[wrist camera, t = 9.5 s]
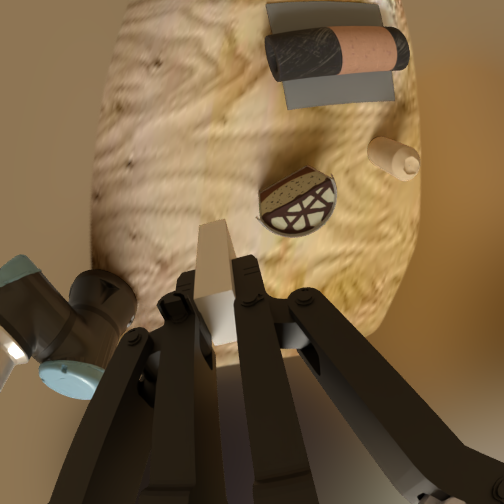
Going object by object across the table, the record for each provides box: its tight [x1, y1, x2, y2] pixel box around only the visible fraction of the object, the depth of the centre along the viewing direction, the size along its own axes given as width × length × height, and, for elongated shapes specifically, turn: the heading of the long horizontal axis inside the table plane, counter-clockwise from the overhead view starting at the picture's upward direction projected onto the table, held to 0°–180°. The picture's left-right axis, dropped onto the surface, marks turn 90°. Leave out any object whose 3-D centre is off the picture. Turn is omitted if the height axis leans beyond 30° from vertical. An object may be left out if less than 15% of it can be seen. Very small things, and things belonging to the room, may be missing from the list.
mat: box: [266, 1, 395, 110], centre depth 36 cm, size 19×18×1 cm
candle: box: [367, 137, 420, 181], centre depth 41 cm, size 6×6×10 cm
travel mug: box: [265, 26, 410, 82], centre depth 33 cm, size 8×8×20 cm
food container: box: [256, 165, 337, 238], centre depth 44 cm, size 12×6×10 cm, turn 121°
